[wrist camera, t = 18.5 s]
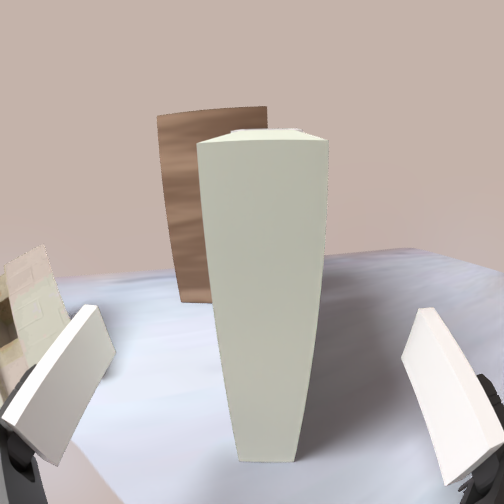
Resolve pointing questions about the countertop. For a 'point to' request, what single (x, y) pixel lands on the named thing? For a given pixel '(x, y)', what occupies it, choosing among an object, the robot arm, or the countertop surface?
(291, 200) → the cream thick square slab
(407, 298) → the countertop surface
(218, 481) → the countertop surface
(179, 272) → the walnut cabinet side
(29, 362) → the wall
